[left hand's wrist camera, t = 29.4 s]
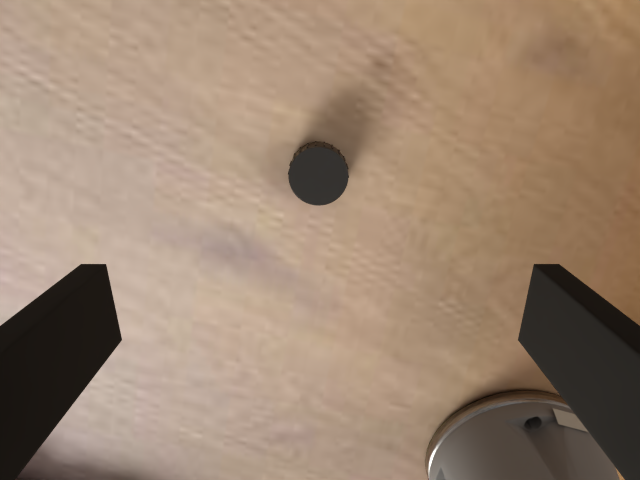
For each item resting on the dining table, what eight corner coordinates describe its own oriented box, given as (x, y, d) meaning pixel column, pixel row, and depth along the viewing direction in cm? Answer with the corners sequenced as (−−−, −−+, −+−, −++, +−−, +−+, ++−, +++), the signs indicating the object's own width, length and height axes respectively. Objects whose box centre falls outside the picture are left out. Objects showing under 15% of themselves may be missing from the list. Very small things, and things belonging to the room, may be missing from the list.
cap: (359, 169, 27) (361, 176, 25) (319, 209, 28) (319, 217, 26) (317, 128, 26) (317, 132, 24) (277, 171, 27) (274, 178, 25)
